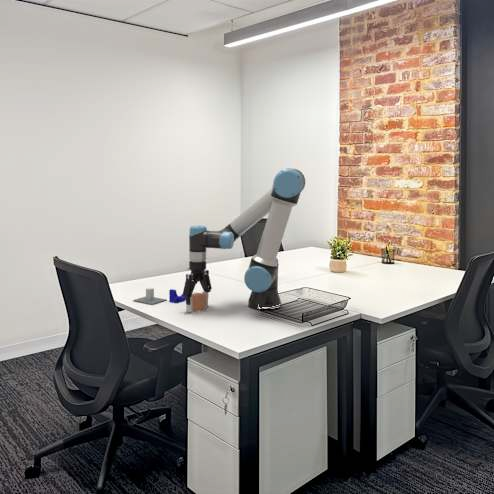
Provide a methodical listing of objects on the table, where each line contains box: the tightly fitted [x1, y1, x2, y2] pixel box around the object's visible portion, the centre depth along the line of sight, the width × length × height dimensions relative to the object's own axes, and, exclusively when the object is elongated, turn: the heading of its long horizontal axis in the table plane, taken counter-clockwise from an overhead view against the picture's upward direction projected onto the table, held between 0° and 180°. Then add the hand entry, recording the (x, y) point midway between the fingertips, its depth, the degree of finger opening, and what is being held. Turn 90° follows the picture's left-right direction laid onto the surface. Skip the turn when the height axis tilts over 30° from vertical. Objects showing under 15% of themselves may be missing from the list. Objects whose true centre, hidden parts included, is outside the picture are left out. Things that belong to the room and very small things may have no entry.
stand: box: [132, 287, 167, 306], centre depth 248 cm, size 12×10×6 cm
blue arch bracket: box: [168, 289, 186, 304], centre depth 251 cm, size 12×4×6 cm, turn 143°
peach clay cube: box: [191, 292, 207, 312], centre depth 235 cm, size 5×5×7 cm
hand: (197, 308), depth 235 cm, fingers open, 11 cm apart
